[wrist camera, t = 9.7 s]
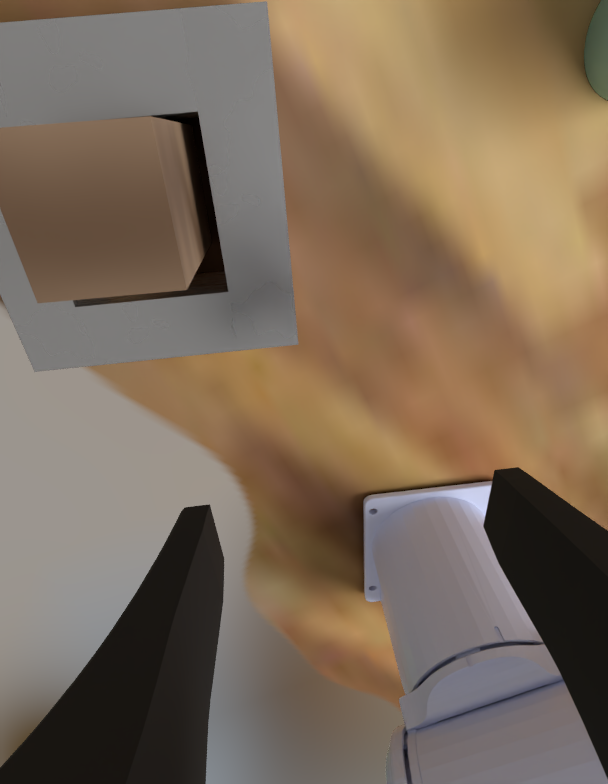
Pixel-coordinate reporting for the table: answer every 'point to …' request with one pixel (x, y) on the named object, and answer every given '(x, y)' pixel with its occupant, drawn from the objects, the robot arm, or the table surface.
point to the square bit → (104, 206)
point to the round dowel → (598, 51)
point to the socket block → (224, 162)
